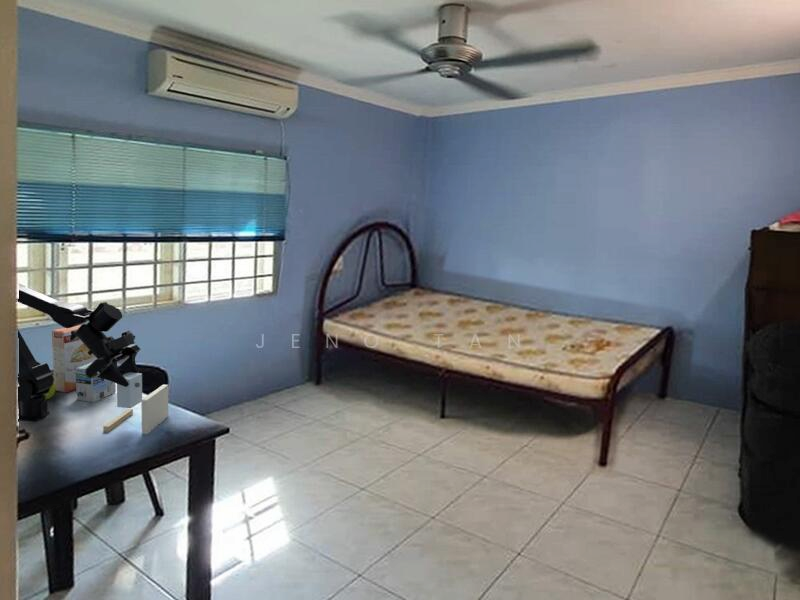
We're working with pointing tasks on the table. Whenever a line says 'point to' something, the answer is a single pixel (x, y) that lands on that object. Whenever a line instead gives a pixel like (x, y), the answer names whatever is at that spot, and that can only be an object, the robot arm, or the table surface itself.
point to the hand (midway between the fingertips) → (134, 382)
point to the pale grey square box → (130, 391)
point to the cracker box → (68, 358)
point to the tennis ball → (50, 392)
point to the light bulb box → (92, 386)
